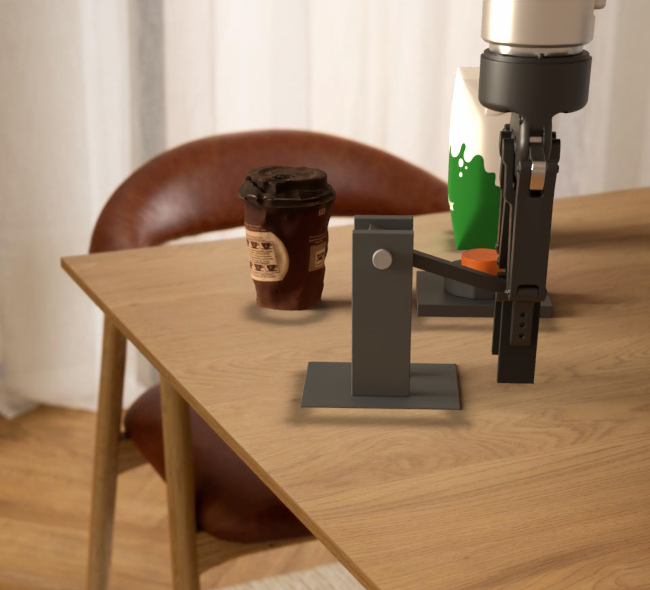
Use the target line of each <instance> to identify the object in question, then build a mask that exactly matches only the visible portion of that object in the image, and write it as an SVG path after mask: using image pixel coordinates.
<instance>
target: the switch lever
mask: <svg viewBox="0 0 650 590" xmlns="http://www.w3.org/2000/svg"><path fill="white" fill-rule="evenodd" d="M368 230H389V229H386V228H383V227H380V226H377V225H374V224H370V226H369V229H368ZM413 268H414V269H418V270H420V271H427V272H431V273H434V274H437V275H440V276H443V277H446V278H449V279H452V280H455V281H458V282H461V283H464V284H467V285H471V286H474V287H477V288H480V289H483V290H486V291H489V292H492V293H495V292H504V290H505V289H506V279H503V278H500V277H497V276H494V275H491V274H488V273H485V272H482V271H479V270H476V269H472V268H469V267H466V266H463V265H460V264H457V263H454V262H453V261H451V260H448V259H445V258H441V257H439V256H435V255H432V254H430V253H426V252H423V251H420V250H417V249H414V248H413Z"/></svg>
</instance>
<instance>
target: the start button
mask: <svg viewBox="0 0 650 590" xmlns="http://www.w3.org/2000/svg"><path fill="white" fill-rule="evenodd" d="M498 256H499V254H497V252H496V250H494V249H483V248H479V249H470V250H463V251H462V252H461V259H460V260H461V265H463V266H466V267H469V268H472V269H476V270H479V271H482V272H485V273H488V274H491V275H494V276H497V272H504V269H498V265H497V258H498Z"/></svg>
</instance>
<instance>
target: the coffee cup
mask: <svg viewBox="0 0 650 590" xmlns="http://www.w3.org/2000/svg"><path fill="white" fill-rule="evenodd" d="M237 197H238V199H240V200H241V201H242V202H243V211H244V221H243V224H244V229H245V239H246V247H247V254H248V259H249V260H248V261H249V268H250V276H251V279H252V282H253V284H254V286H255V287H254V288H255V293H256V299H255V300H256V305H257V306H258V307H260V308H263V309H270V310H274V311H288V312H289V311H290V312H293V311H297V312H298V311H305V310H308V309H311V308H313V307H315V306H317V305H318V304H319V303H320V302H321V301H322V295H323V291H324V287H325V275H326V264H325V261H326V258H327V255H328V251H329V241H330V240H329V239H330V238H329V225H330V224H329V223H330V220H331V216H332V208H333V206H334V204H335V201H336V200H337V193H336V191H335V189H334V187H333V186H332V185H331V184H330V183H328V174H327V172H326V171H325V170H322V169H320V168H313V167H306V166H287V165H275V164H269V165H263V166H259V167H254V168H251V169H248V170H247V176H245V179H244V182H243V184H242V185H241V186H240V187H239V189H238V192H237Z"/></svg>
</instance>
